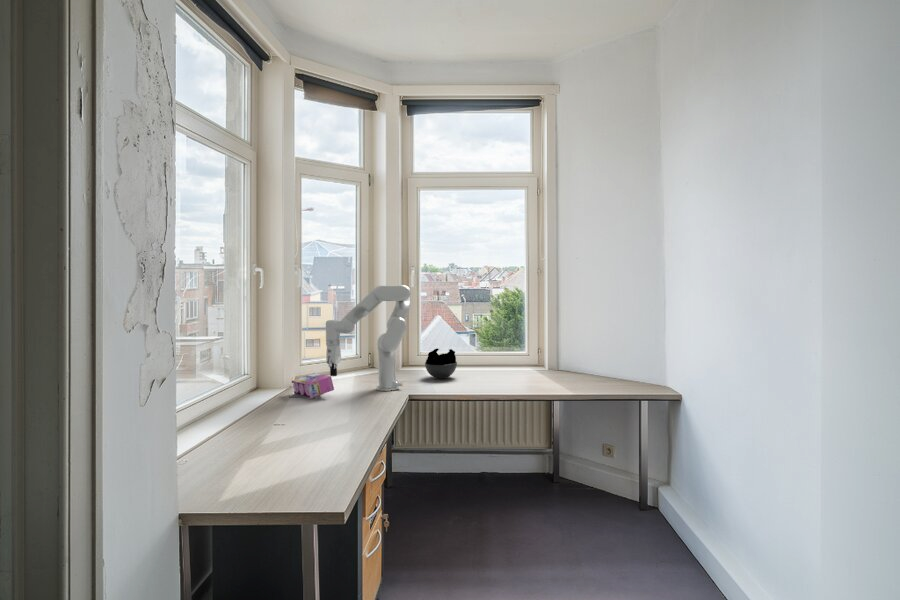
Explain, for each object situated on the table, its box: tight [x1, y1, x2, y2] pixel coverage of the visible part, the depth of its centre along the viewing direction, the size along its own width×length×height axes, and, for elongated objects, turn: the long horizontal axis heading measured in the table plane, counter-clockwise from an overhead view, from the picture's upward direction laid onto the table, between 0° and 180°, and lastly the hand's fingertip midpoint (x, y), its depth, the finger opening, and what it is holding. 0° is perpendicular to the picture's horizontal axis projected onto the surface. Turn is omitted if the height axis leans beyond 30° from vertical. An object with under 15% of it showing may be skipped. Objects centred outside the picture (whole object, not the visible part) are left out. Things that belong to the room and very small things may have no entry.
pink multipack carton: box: [291, 372, 335, 399], centre depth 270 cm, size 24×8×14 cm
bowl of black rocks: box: [424, 348, 458, 380], centre depth 313 cm, size 20×20×19 cm
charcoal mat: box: [288, 393, 323, 399], centre depth 279 cm, size 15×25×1 cm, turn 170°
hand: (333, 375), depth 276 cm, fingers closed
